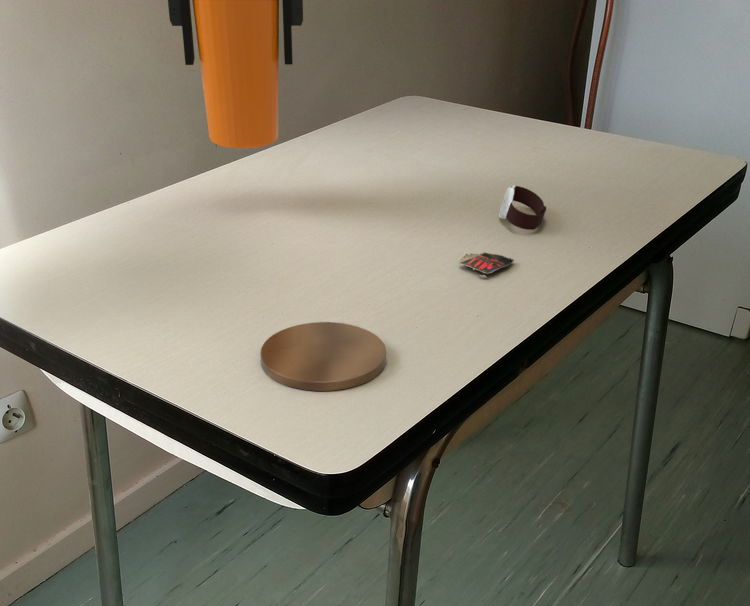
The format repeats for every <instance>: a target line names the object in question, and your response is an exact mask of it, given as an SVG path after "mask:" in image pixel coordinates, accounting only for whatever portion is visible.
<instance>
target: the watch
mask: <svg viewBox="0 0 750 606" xmlns="http://www.w3.org/2000/svg"><path fill="white" fill-rule="evenodd" d="M513 202H517V203H520V204H523V205H524V206H527V208H529V209H531V210H532V211H533V212H534V213H535V214H529V213H526V212H523V211H521V210H519V209H517V207H515V206H514V205H513ZM546 211H547V205H545V203H544V201H543V199H542V198H541V197H540V196H539V195H538V194H537V193H535V192H534V191H532V190H530V189H528V188H526V187H523V186H519V185H511V186H508V187H507V189H506V191H505V193H504V195H503V197H502V201H501V204H500V208H499V215H498V216H499V218H500V219H502V220H506V219H507V221H508V222H509V223H510V224H511V225H513V226H515V227H517V228H520V229H523V230H527V231H529V230H530V231H532V230H537V229H538V228H539V227H540V225H541V224H542V221H543V219H544V217H545V214H546Z"/></svg>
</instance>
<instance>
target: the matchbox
mask: <svg viewBox="0 0 750 606" xmlns="http://www.w3.org/2000/svg"><path fill="white" fill-rule="evenodd" d="M513 262H514V259H513V258H512V257H507V256H505V255H502V254H497V252H496V253H489V252H485V251H484V252H480V253H471V252H470V253H469V254H468V253H466V254H465V255H463V256H462V257H461V259H460V260H459V261H457V263H458V264H460V265H463V266H466V267H468V268H471V269H472V270H474V271H475V270H476V271H479V272H481V273H483V274H480V273H478V274H477V275H478V276H479V277H480V278H483V279H488V280H489V277H488V276H487V275H489V274H491V273H492V274H494V272H495V271H499V270H500V269H503V268H505V267H508V266H510V265H511V264H512V263H513ZM485 274H487V275H485Z"/></svg>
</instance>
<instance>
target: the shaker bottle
mask: <svg viewBox="0 0 750 606" xmlns="http://www.w3.org/2000/svg"><path fill="white" fill-rule="evenodd" d="M191 1H192V9H193V17H194V25H195V32H196V41H197V42H196V43H197V49H198V56H199V67H200V73H201V82H202V88H203V96H204V97H203V98H204V105H205V112H206V113H205V114H206V121H207V122H206V123H207V130H208V136H209V140H210V142H211V143H213V144H215V145H217V146H220V147H224V148H229V149H254V148H262V147H265V146H269V145H271V144H274V143H275V142H276V141H277V140H278V138H279V83H280V82H279V80H280V79H279V77H280V76H279V73H280V72H279V71H280V70H279V69H280V67H279V65H280V63H279V62H280V60H279V59H280V54H279V52H280V51H279V50H280V30H279V29H280V0H191Z"/></svg>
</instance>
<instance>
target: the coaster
mask: <svg viewBox="0 0 750 606" xmlns="http://www.w3.org/2000/svg"><path fill="white" fill-rule="evenodd" d="M260 364H261V367H262V369H263V371H264V372H265V373H266V375H267V376H269V378H271V379H272V380H274V381H276V382H278V383H280V384H282V385H284V386H286V387H291V388H294V389H299V390H302V391H303V390H304V391H312V392H313V391H314V392H315V391H316V392H328V391H339V390H346V389H350V388H354V387H358V386H361V385H363V384H365V383H367V382H369V381H371V380H373V379H374V378H376V377H377V376H378V375H379V374H380V373H381V372H382V371H384V368H385V366H386V364H387V348H386V345H385V342H383V340H382V339H381V338H380V337H379V336H378V335H376V334H375V333H374V332H371V331H370V330H367V329H365V328H363V327H360V326H357V325H353V324H350V323H349V324H348V323H344V322H343V323H342V322H335V321H334V322H332V321H317V322H307V323H301V324H297V325H291V326H289V327H286V328H284V329H282V330H281V329H280V331H278V332H275V333H274V334H272V335H271V336H269V337H268V338H267V339H266V340H265V341H264V343H263V344H262V346H261V349H260Z"/></svg>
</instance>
